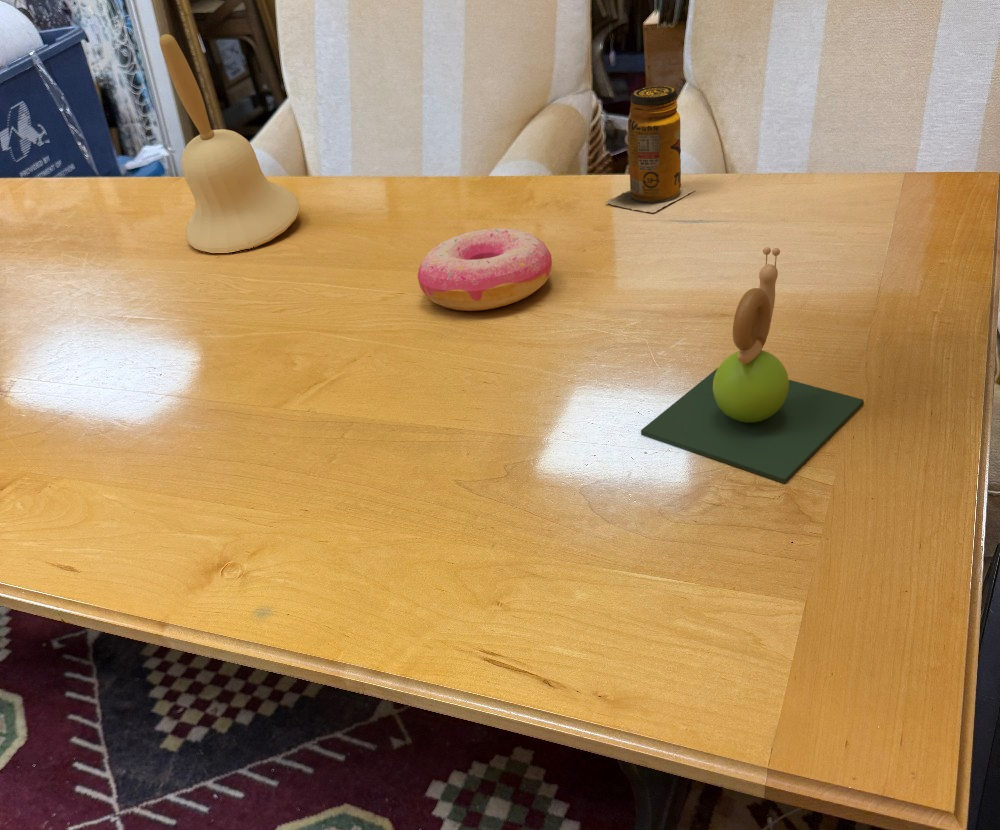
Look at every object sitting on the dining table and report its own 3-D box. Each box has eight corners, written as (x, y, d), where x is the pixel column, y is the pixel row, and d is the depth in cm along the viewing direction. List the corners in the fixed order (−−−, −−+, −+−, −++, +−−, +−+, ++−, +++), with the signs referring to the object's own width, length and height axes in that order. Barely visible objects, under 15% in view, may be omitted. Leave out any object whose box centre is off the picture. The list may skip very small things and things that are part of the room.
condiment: (696, 190, 110) (696, 85, 103) (653, 214, 106) (650, 105, 99) (647, 182, 115) (644, 81, 107) (604, 205, 110) (598, 100, 103)
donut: (577, 273, 95) (573, 226, 92) (507, 329, 87) (500, 280, 84) (474, 258, 102) (467, 215, 99) (399, 309, 94) (389, 263, 91)
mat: (724, 366, 76) (724, 362, 76) (863, 404, 69) (864, 399, 69) (640, 434, 70) (640, 429, 69) (784, 483, 62) (785, 479, 62)
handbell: (320, 197, 123) (251, 0, 104) (279, 263, 113) (195, 58, 95) (220, 202, 127) (137, 13, 109) (172, 266, 117) (72, 70, 99)
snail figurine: (800, 398, 70) (811, 249, 63) (772, 442, 66) (781, 288, 59) (732, 387, 73) (735, 242, 65) (701, 428, 68) (701, 279, 61)
